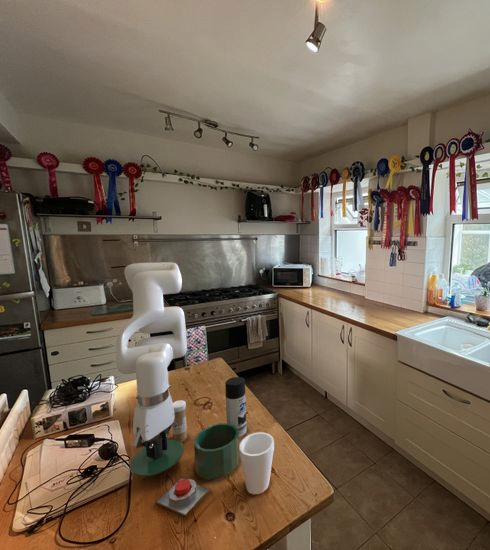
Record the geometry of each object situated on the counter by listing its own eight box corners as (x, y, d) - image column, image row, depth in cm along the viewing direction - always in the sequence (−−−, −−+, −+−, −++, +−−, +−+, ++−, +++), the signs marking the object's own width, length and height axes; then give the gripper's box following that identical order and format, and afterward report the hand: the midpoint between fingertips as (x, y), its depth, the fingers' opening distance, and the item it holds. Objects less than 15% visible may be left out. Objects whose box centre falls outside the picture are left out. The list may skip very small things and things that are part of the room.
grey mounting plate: (156, 505, 76) (155, 495, 76) (181, 481, 84) (181, 472, 83) (185, 518, 73) (184, 508, 72) (209, 492, 80) (208, 483, 80)
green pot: (185, 473, 87) (184, 444, 85) (216, 445, 98) (215, 419, 97) (219, 486, 82) (218, 456, 81) (247, 455, 94) (246, 428, 93)
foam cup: (256, 505, 77) (255, 461, 75) (233, 489, 81) (232, 447, 80) (281, 480, 85) (280, 439, 83) (258, 467, 89) (258, 428, 88)
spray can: (240, 440, 101) (239, 386, 98) (223, 437, 102) (221, 384, 99) (249, 428, 107) (248, 377, 105) (233, 425, 109) (231, 375, 106)
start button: (172, 493, 77) (171, 487, 77) (183, 483, 80) (183, 477, 80) (182, 498, 76) (182, 492, 75) (193, 487, 79) (193, 481, 79)
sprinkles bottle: (169, 444, 98) (167, 407, 97) (176, 435, 103) (174, 399, 101) (183, 444, 99) (181, 407, 97) (189, 434, 103) (187, 399, 101)
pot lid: (118, 469, 83) (116, 447, 82) (161, 437, 95) (160, 418, 94) (153, 484, 78) (151, 461, 77) (193, 449, 91) (192, 429, 90)
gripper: (168, 380, 92) (171, 432, 95) (115, 408, 77) (120, 469, 80) (186, 385, 90) (189, 438, 93) (135, 415, 75) (140, 478, 78)
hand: (157, 452), depth 86 cm, fingers closed on pot lid, 2 cm apart
